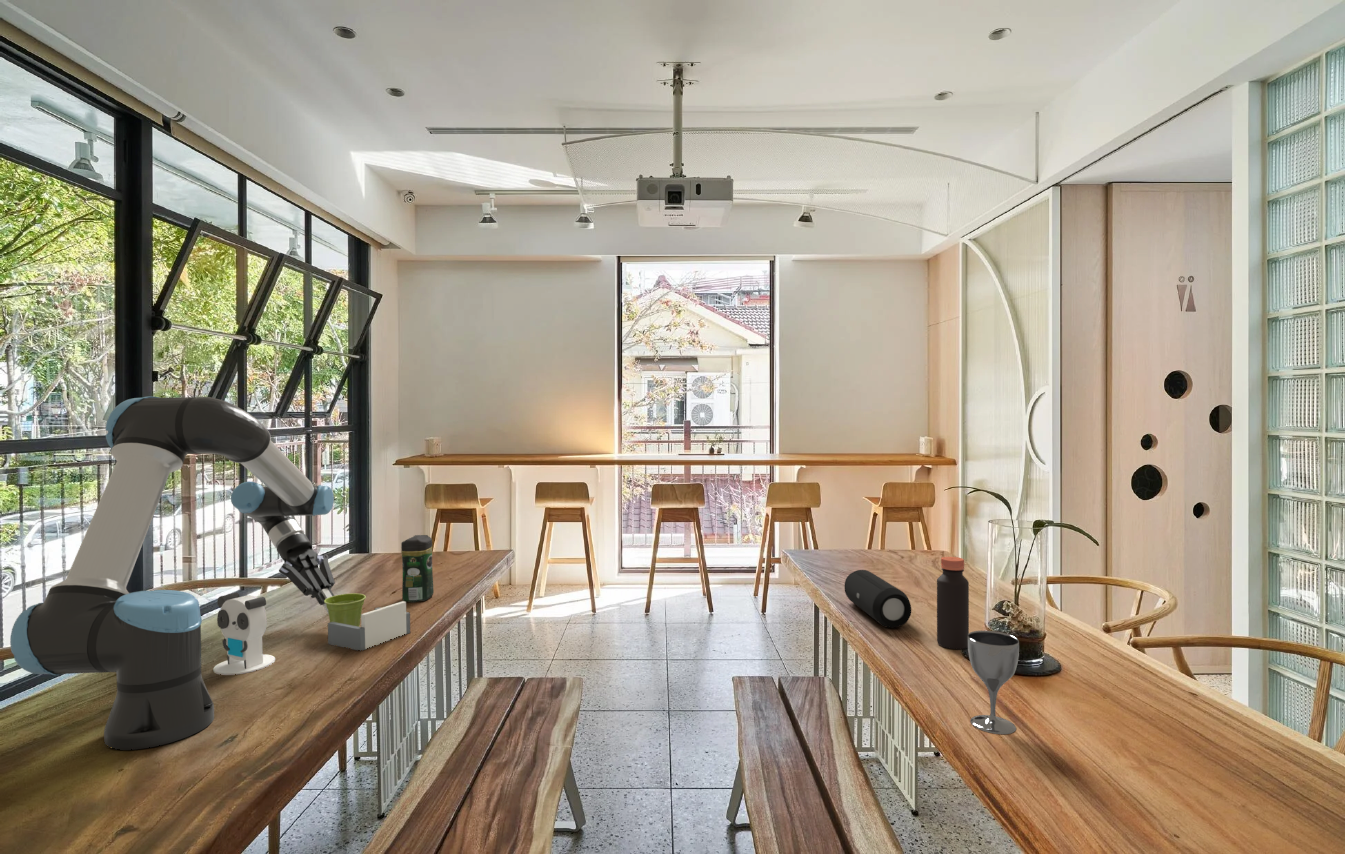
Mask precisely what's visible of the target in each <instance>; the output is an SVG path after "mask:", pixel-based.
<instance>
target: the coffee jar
mask: <svg viewBox="0 0 1345 854" xmlns="http://www.w3.org/2000/svg"><path fill="white" fill-rule="evenodd" d="M400 544H401V546H400V548H401V549H400V550H401V551H400V552H401V560H402V564H401V565H402V566H401V567H402V590H401V591H402V594H401V597H402V601H404V602H407V603H417V602H424V601H427V600H428V599H430V598H432V596H433V595H434V575H433V573H434V572H433V539H432V537H430V536H429V535H428V534H417V535H416V534H415V535H413V536H412V537H409V538H407V539H405V540H403V541H402V542H401V543H400Z"/></svg>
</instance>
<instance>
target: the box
mask: <svg viewBox="0 0 1345 854" xmlns="http://www.w3.org/2000/svg"><path fill="white" fill-rule="evenodd" d="M404 634H405V635H408V634H411V612H408V611H407V601H403V600H402V601H399V602H396V603H393V604H389V605H387V606H383V607H380V606H379V607H374V610H371V611H367V612H364V613H361V619H360V627H358V626H352V625H347V624H342V623H337V622H330V621H329V622H328V623H327V644H328V645H331V646H335V645H337V646H336V647H340V648H344V647H346V649H349V648H351V649H350V650H353V651H354V650H355V651H358V650H360V651H359V652H362V651H364V650H367V648H368V649H370V648H372V646H373V647H375V646H374V645H376V646H378V645H381V644H383V642H384V643H386V642H389V641H391V640H390V639H392V640H394V638H395V639H397V638H399V637H398V636H400V637H402V635H403V636H405V635H404ZM396 637H397V638H396ZM385 641H386V642H385ZM380 643H381V644H380ZM347 647H348V648H347ZM369 647H370V648H369ZM361 650H362V651H361Z"/></svg>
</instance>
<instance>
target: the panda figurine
mask: <svg viewBox="0 0 1345 854" xmlns="http://www.w3.org/2000/svg"><path fill="white" fill-rule="evenodd" d="M266 600H267V599H266V597H264V596H260V597H257V596H254V595H243V596H240V594H239V593H238V592H234V593H233V592H232V593H230V594H229V593H228V594H225V595H220V596H219V597H218V598H217V602H216V603H217V606H218V607H219V608H220V610H218V612H217V619H216V620H217V621H216V622H217V626H218V628H219V629H220V632H221V633H222V635H223V637H224V638H223V639H222V647H223V649H224V650H225V651H226V658H227V660H224V661H222V662H219V663H218V664H215V666H214V667H213V673H214V674H217V675H220V674H221V675H223V676H235V674H236V675H242V674H249V673H253V672H257V671H260V670H262V669H265V667H266V668H268V667H270V666H271V665H273V664H274V663H275V661H276V657H275V656H273V655H271V654H268V653H267V654H264V653H263V635H264V634H265V633H266V630H267V626H268V617H267V611H266V607H265V606H267V601H266ZM272 663H273V664H272ZM269 665H270V666H269ZM256 670H257V671H256Z"/></svg>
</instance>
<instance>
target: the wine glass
mask: <svg viewBox="0 0 1345 854" xmlns="http://www.w3.org/2000/svg"><path fill="white" fill-rule="evenodd" d="M967 651H968V657H969V658H968V659H969V662H970V665H971V668H972V670H973V671H974V673H975V674H976V675H977V676H978V677H979V679H980V680H981V681H982V682H983V684H984V686H986V689H987V691H988V697H989V705H990V706H989V707H990V711H989V712H990V714H989V715H988V714H979V715H975V716H973V717H971V718H970V724H971V725H972V726H973V727H975V728H976V729H978V730H980V731H982V732H986V733H989V734H993V735H1011V734H1014V732H1016V730H1017V727H1016V725H1015V724H1014V723H1013V722H1011V721H1010V720H1008V719H1006V718H1004V717H1000V716H996V707H997V706H996V705H997V697H998V692H999V691H1000V689H1001V688H1002V686H1003V685H1005V683H1007V682H1008V681H1009V680H1010V679H1011V678H1012V677H1013V676H1014V675H1015V673H1016V670H1017V666H1018V662H1019V658H1020V653H1019V652H1020V641H1019V638H1017V637H1015V636H1014V635H1011V634H1008V633H1005V632H1001V631H996V630H995V631H994V630H975V631H974V630H973V631H969V634H968V647H967Z"/></svg>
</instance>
